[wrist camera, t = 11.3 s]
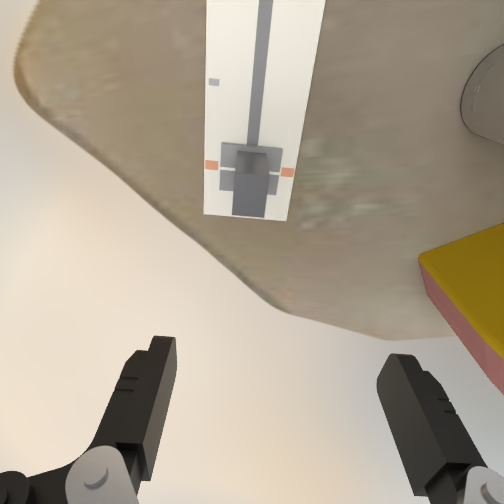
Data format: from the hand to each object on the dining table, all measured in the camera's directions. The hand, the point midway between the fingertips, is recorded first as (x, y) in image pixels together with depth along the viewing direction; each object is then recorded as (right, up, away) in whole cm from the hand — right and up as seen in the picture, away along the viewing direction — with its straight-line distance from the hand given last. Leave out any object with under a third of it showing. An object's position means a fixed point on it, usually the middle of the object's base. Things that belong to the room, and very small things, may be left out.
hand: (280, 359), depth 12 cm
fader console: (-1, +21, +20) cm, 29 cm away
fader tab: (-1, +13, +22) cm, 26 cm away
